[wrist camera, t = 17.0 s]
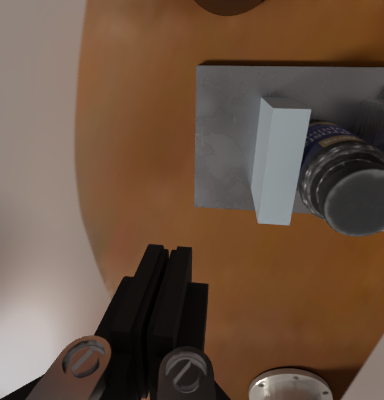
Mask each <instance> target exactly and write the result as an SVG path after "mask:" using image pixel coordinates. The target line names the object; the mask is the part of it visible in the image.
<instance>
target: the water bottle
mask: <svg viewBox="0 0 384 400" xmlns="http://www.w3.org/2000/svg"><path fill="white" fill-rule="evenodd" d="M194 1H195V2H196V3H197V4H198V5H200V6H201V7H202V8H204V9H205V10H207V11H209V12H211V13H213V14H217V15H222V16H233V15H238V14H242V13H245V12H247V11H249V10H251V9H252V8H254V7H255V6H257V5H258V4H259V3H261V2H262V1H263V0H194Z"/></svg>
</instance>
